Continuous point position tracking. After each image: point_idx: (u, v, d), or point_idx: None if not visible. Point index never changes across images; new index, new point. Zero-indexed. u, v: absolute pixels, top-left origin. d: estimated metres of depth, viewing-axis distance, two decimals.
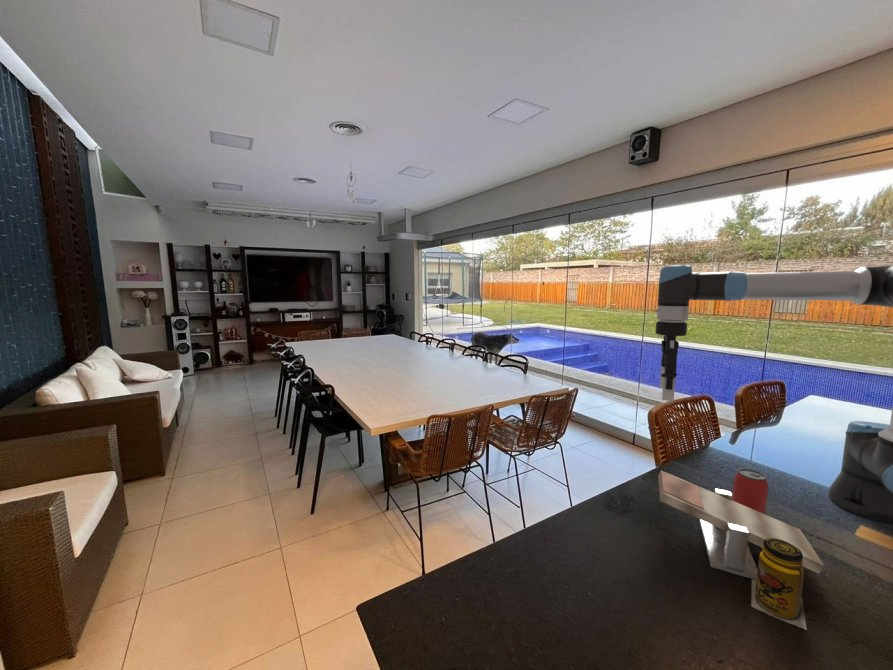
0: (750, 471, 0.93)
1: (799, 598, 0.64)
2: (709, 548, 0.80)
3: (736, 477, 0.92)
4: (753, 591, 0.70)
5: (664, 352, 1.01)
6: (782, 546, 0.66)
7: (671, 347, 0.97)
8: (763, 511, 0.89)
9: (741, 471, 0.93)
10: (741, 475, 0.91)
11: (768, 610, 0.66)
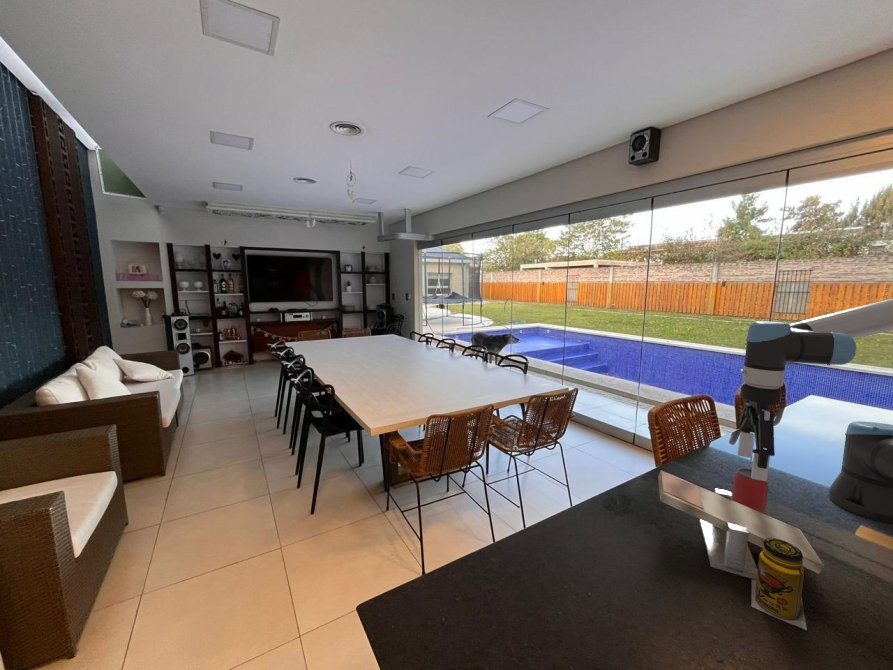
0: (750, 471, 0.93)
1: (799, 598, 0.64)
2: (709, 548, 0.80)
3: (736, 477, 0.92)
4: (753, 591, 0.70)
5: (754, 422, 0.87)
6: (782, 546, 0.66)
7: (766, 419, 0.83)
8: (763, 511, 0.89)
9: (741, 471, 0.93)
10: (741, 475, 0.91)
11: (768, 610, 0.66)
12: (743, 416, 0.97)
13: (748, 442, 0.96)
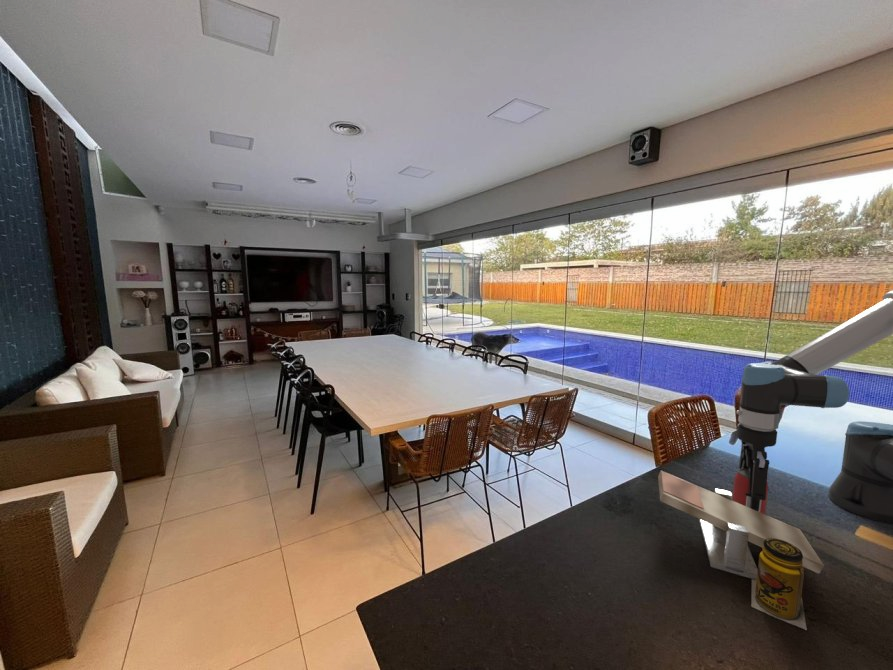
0: None
1: (799, 598, 0.64)
2: (709, 548, 0.80)
3: (736, 477, 0.92)
4: (753, 591, 0.70)
5: (749, 465, 0.89)
6: (782, 546, 0.66)
7: (760, 467, 0.85)
8: (763, 511, 0.89)
9: (741, 471, 0.93)
10: (741, 475, 0.91)
11: (768, 610, 0.66)
12: (741, 461, 0.96)
13: None
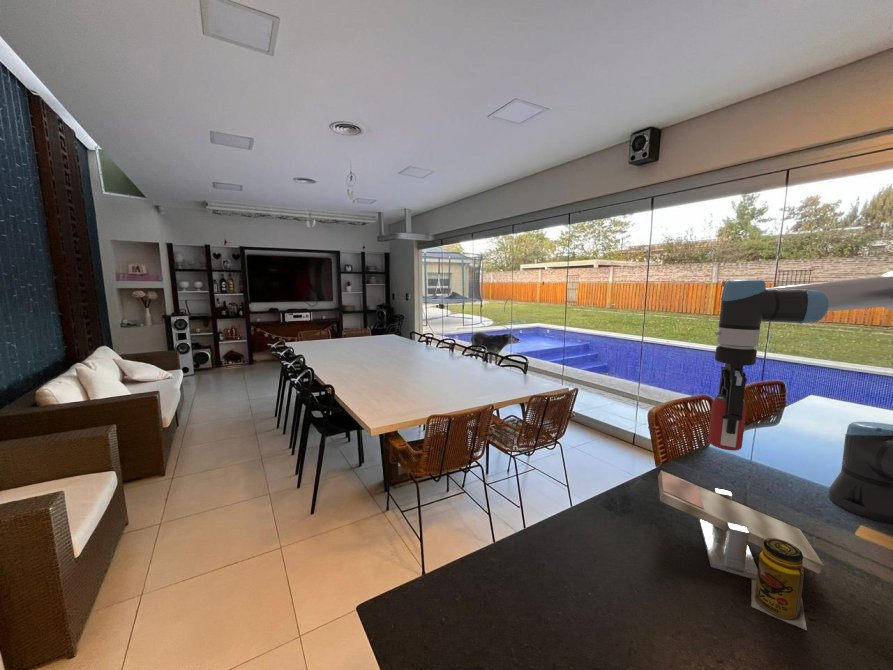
0: None
1: (799, 598, 0.64)
2: (709, 548, 0.80)
3: (713, 402, 0.88)
4: (753, 591, 0.70)
5: (726, 386, 0.84)
6: (782, 546, 0.66)
7: (737, 385, 0.80)
8: (740, 436, 0.84)
9: (719, 397, 0.88)
10: (718, 399, 0.86)
11: (768, 610, 0.66)
12: (721, 389, 0.92)
13: None
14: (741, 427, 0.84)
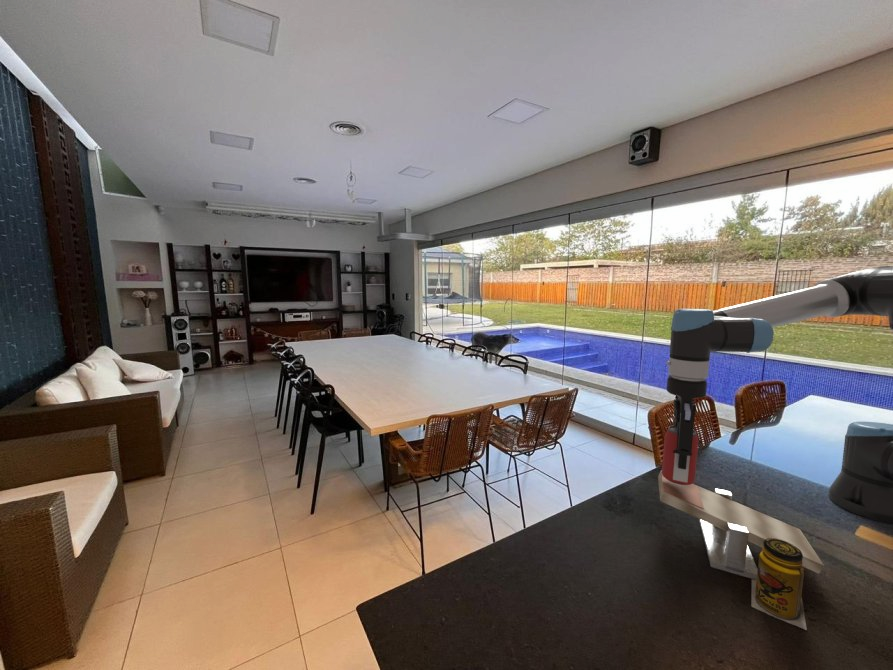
0: None
1: (799, 598, 0.64)
2: (709, 548, 0.80)
3: (666, 434, 0.85)
4: (753, 591, 0.70)
5: (677, 419, 0.81)
6: (782, 546, 0.66)
7: (686, 419, 0.77)
8: (692, 470, 0.81)
9: (672, 428, 0.85)
10: (670, 431, 0.83)
11: (768, 610, 0.66)
12: (675, 419, 0.88)
13: None
14: (693, 461, 0.81)
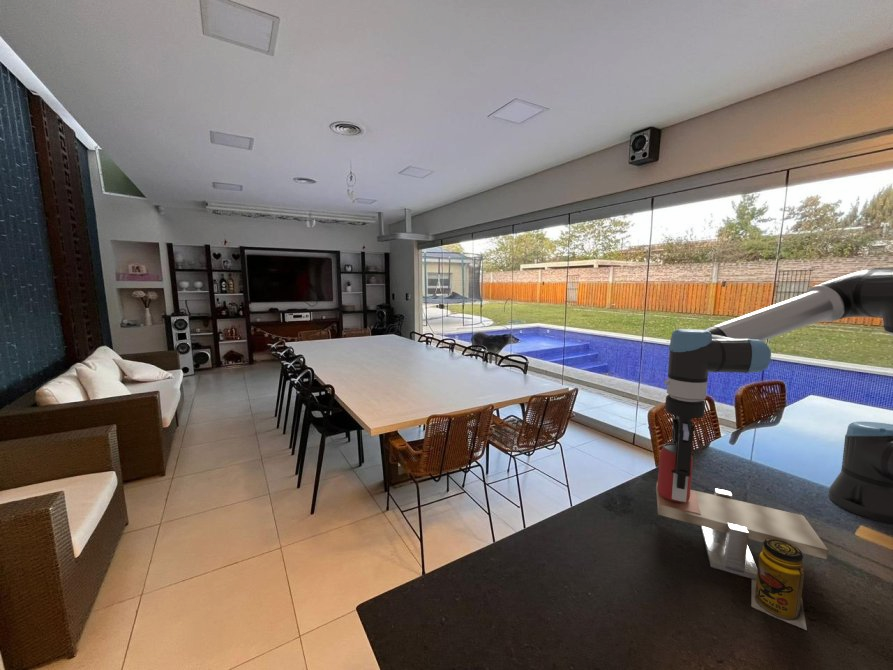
0: None
1: (799, 598, 0.64)
2: (709, 548, 0.80)
3: (661, 452, 0.85)
4: (753, 591, 0.70)
5: (676, 439, 0.82)
6: (782, 546, 0.66)
7: (685, 439, 0.78)
8: (687, 488, 0.82)
9: (667, 445, 0.86)
10: (665, 449, 0.84)
11: (768, 610, 0.66)
12: (674, 436, 0.89)
13: None
14: None
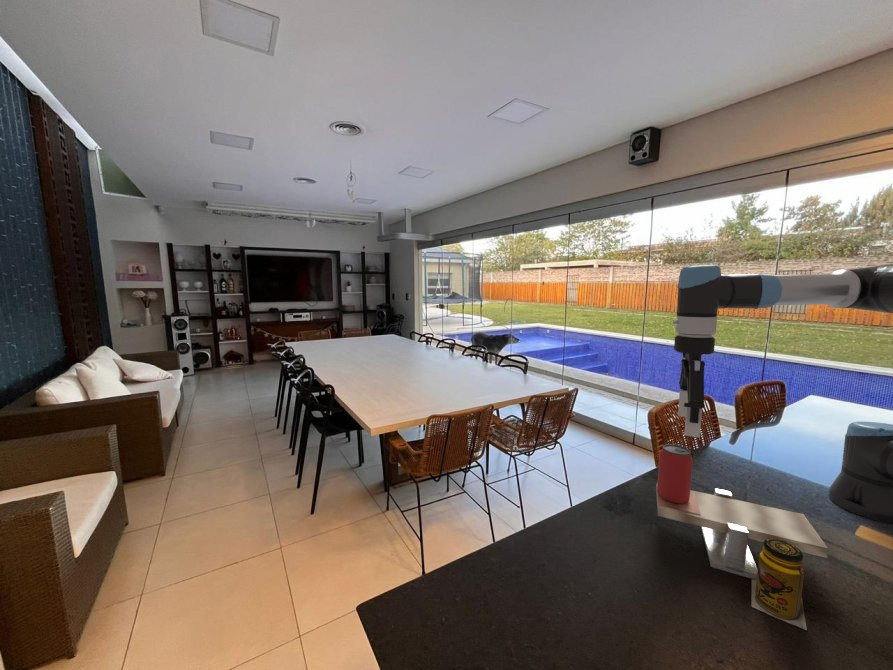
0: (676, 447, 0.86)
1: (799, 598, 0.64)
2: (709, 548, 0.80)
3: (660, 453, 0.86)
4: (753, 591, 0.70)
5: (686, 375, 0.80)
6: (782, 546, 0.66)
7: (696, 369, 0.76)
8: (687, 489, 0.82)
9: (666, 447, 0.86)
10: (665, 450, 0.84)
11: (768, 610, 0.66)
12: (682, 373, 0.90)
13: (688, 401, 0.89)
14: (687, 480, 0.82)
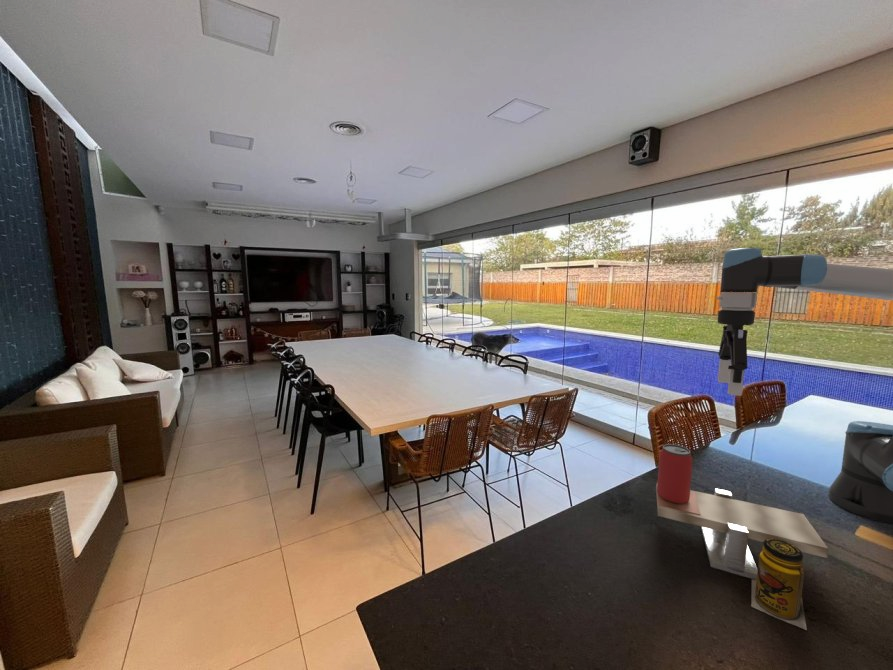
0: (676, 447, 0.86)
1: (799, 598, 0.64)
2: (709, 548, 0.80)
3: (660, 453, 0.86)
4: (753, 591, 0.70)
5: (729, 343, 0.93)
6: (782, 546, 0.66)
7: (740, 337, 0.89)
8: (687, 489, 0.82)
9: (666, 447, 0.86)
10: (665, 450, 0.84)
11: (768, 610, 0.66)
12: (722, 345, 1.03)
13: (727, 368, 1.02)
14: (687, 480, 0.82)
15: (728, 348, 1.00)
